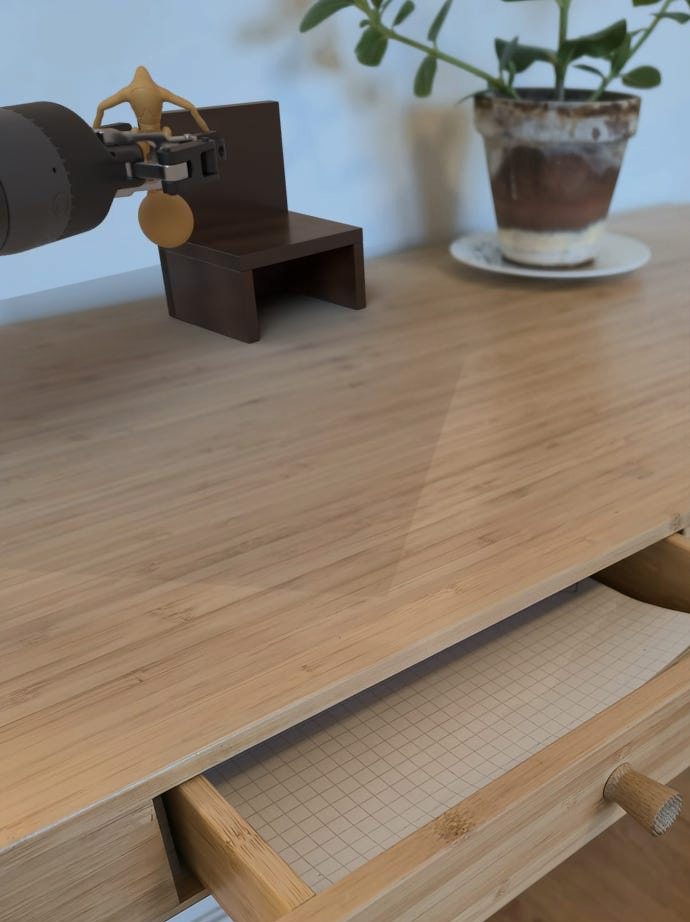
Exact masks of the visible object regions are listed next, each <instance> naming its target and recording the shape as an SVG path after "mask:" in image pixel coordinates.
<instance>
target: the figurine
mask: <svg viewBox="0 0 690 922" xmlns="http://www.w3.org/2000/svg"><path fill="white" fill-rule="evenodd" d="M124 103H129V105H130V107H131V110H132V111H133V114H134V116H135V118H136V121H137V120H138V122H139V125H140V127H141V130H155V131H159V132H162V133H164V134H165V136H166V137H172V133H171V130H170V128H168V127H164V128H163V130H162V131H161V129H160V120H161V112H162V111H163V107H164V103H168V104H172V105H174V106H177V107H179V108H181V109H188V110H190V112H191V114H192V116H193V117H194V118H195V120H196V122H197V123H198V125H199V126H200V127H201V128H202V129H203V130H204V131H209V129H208V127H207V125H206V123H205V122H204V120H203V119H202V118H201V117H200V115H199V113H198V111H197V109H196V108H197V107H196V106H195V105H194V104H193V103H192V102H191V101H189V100H187V99H185V98H184V97H182V96H180V95H177V94H175V93H173V92H172V91H170V90H169V89H167V88H166V87H163V86H160V85H159V84H158V83H157V82H155V80H154V79H153V78H152V76H151V74H150V72H149V71H148V69H147V68H146V67H145V66H144V65H138V66H137V67H136V69H135V72H134V74H133V78H132V81H131V82H130V83H129V84H128V85H127V86H125V87H122V88H121V89H119V90H118V91H117V92H116V93H114V94H113V95H109V96H108V97H106V98H105V99H103V100H102V101H101V102H100V103H98V105H97V107H96V115H95V117H94V120H93V122H92V126H91V127H92V130H94V129H99V128H100V126H102V121H103V118H104V116H105V111H108V110H110V109H113V108H114V107H116V106H119V105H120V104H124ZM138 130H139V129H138V126H132V129H131V131H138ZM136 143H138V144H139V145H140V146H141V147H142V149H143V153H144V159H145V160H147V159H146V155H147V153H149V152H150V146H149V143H148V142H136ZM137 220H138V225H139V227H140V229H141V231H142V233H143V234H144V236H145V238H147V239H148V240H149V241H150V242H151V243H152V244H154V245H157V247H158V246H161V247H165V248H173V247H177V246H180V245H182V244H183V243H185V242H186V241H187V240H188V238H189V237H190V235H191V233H192V230H193V225H194V220H193V214H192V211H191V209H190V207H189V205H188V204H187V203H186V201H185V200H184V199H183V198H182V197H180V196H179V195H178V194H177V195H175V196H170V195H169V194H164V193H163V190H147V191H146V195H145V196H144V198H142V199H141V202H140V203H139V206H138V210H137Z"/></svg>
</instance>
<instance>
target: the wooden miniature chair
mask: <svg viewBox="0 0 690 922" xmlns="http://www.w3.org/2000/svg"><path fill="white" fill-rule="evenodd" d="M196 109H197V111H198V113H199V115H200V117H201V118H202V119H203V120H204V122H205V123H206V125H207V127H208V129H209V131H219V132H220V133H221V134H222V138H224V143H225V151H226V161H225V162H224V164H223V165H222V166H219V167H218V173H219V180H218V181H216V182H214V183H210V184H207V185H204V186H201V187H198V188H195V189H192V190H189V191H186V192H183V193H180V194H178V195H179V196H180V197H182V198H183V199H184V200H185V201H186V203H187V204H188V205H189V207H190V209H191V211H192V214H193V220H194V225H193V230H192V233H191V235H190V237H189V238H188V240H187V241H186V242H185V243H183V244H182V245H180V246H177V247H173V248H165V247H161V246H158V245H157V250H158V256H159V263H160V268H161V275H162V281H163V287H164V293H165V300H166V305H167V311H168V316H169V317H171V318H175V319H178V320H181V321H184V322H186V323H190V324H193V325H194V326H198V327H200V328H201V327H202V328H204V329H206V330H210V331H212V332H215V333H218V334H221V335H224V336H227V337H230V338H232V339H235V340H238V341H241V342H244V343H246V344H251V343H255V342H258V341H260V339H261V338H260V329H259V321H258V312H257V311H258V310H257V303H256V298H257V297H260V296H264V295H268V294H272V293H276V292H278V291H282V290H288V291H292V292H296V293H299V294H303V295H306V296H309V297H313V298H316V299H320V300H323V301H326V302H329V303H333V304H336V305H339V306H343V307H346V308H350V309H354V310H357V311H358V310H362V309H364V308H366V307H367V299H366V296H367V295H366V293H367V292H366V278H365V277H366V273H365V251H364V228H363V227H361V226H356V225H352V224H347V223H345V222H340V221H335V220H330V219H326V218H323V217H318V216H314V215H310V214H305V213H301V212H296V211H293V210H289V205H288V204H289V203H288V191H287V180H286V169H285V157H284V145H283V133H282V121H281V112H280V102H279V101H278V100H271V99H268V100H258V101H247V102H239V103H230V104H219V105H209V106H201V107H196ZM136 122H137V128H138V129H139V130H141V127H140V125H139V122H138V120H137V119H136ZM164 127H168V128H170V130H171V133H172V137H174V136H184V134H191V135H192V134H197V133H201V132H205V131H204V130H203V129H202V128H201V127H200V126H199V125H198V123H197V122H196V120H195V118H194V117H193V116H192V114H191V112H190V110H188V109H184V108H181V109H171V110H162V112H161V120H160V129H161V131H162V130H163V128H164ZM146 159H147V160H152V158H151V152H149V153H147V155H146ZM157 190H162V189H157Z"/></svg>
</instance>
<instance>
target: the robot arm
mask: <svg viewBox="0 0 690 922" xmlns="http://www.w3.org/2000/svg"><path fill="white" fill-rule="evenodd" d="M92 127H93V126H90V125H89V124H88V122H87V121H85V119H83V117H82V116H80V115H79V114H78V113H76V112H75V111H74V110H72V109H70V108H69V107H67V106H65V105H62V104H60V103H57V102H53V101H46V100H40V101H39V100H38V101H33V102H32V101H31V102H26V103H25V102H24V103H18V104H13V105H12V104H11V105H6V106H5V105H4V106H0V257H5V256H12V255H17V254H21V253H24V252H27V251H31V250H34V249H37V248H40V247H41V248H42V247H43V246H47V245H50V244H54V243H56V242H59V241H63V240H66V239H68V238H71V237H74V236H78V235H81V234H84V233H87V232H90V231H92V230H95V229H96V228H97V227H99V226H100V225H101V224H102V223H103V222H104V220H105V219H106V218H107V216H108V215H109V212H110V210H111V208H112V205H113V202H114V199H118V198H119V199H120V198H128V197H131V196H133V195H134V194H135V193H136V192H137V193H138V192H145V191H146V192H147V191H148V190H157V189H162V190H163V193H164V194H169V195H170V196H175V195H177V194H180V193H183V192H186V191H189V190H192V189H195V188H198V187H201V186H204V185H207V184H210V183H214V182H216V181H218V180H219V173H218V167H219V166H222V165H223V164H224V162H225V161H226V151H225V143H224V138H222V134H221V133H220V132H219V131H205V132H201V133H197V134H192V135H191V134H184V136H174V137H166V136H165V134H164V133H162V132H159V131H155V130H138V131H131V129H132V128H133V126H132V124H131V123H129V122H122V121H121V122H120V121H119V122H115V123H110V124H102V125H101V126H100V128H99V129H94V130H92ZM136 142H148V143H149V146H150V152H151V158H152V160H145V159H144V153H143V149H142V147H141V146H140V145H139V144H138V143H136Z"/></svg>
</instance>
